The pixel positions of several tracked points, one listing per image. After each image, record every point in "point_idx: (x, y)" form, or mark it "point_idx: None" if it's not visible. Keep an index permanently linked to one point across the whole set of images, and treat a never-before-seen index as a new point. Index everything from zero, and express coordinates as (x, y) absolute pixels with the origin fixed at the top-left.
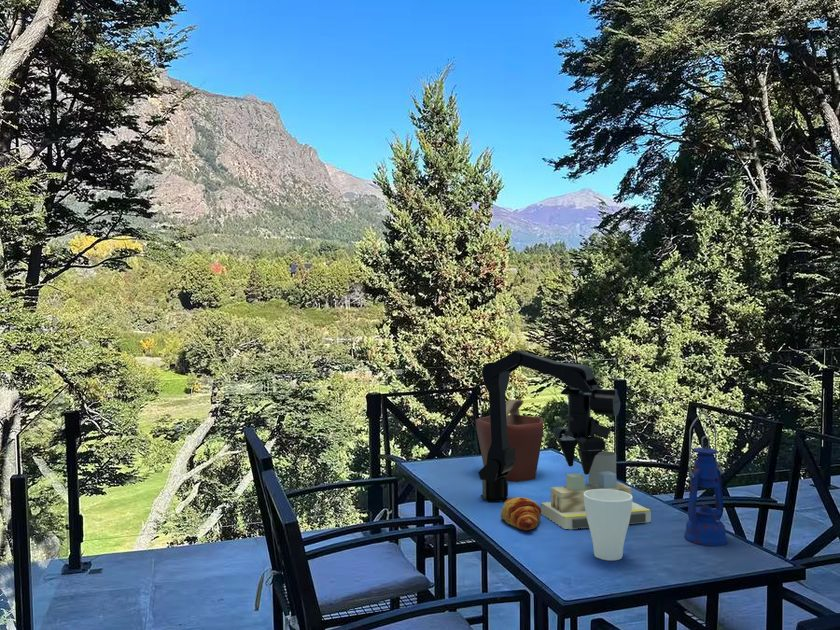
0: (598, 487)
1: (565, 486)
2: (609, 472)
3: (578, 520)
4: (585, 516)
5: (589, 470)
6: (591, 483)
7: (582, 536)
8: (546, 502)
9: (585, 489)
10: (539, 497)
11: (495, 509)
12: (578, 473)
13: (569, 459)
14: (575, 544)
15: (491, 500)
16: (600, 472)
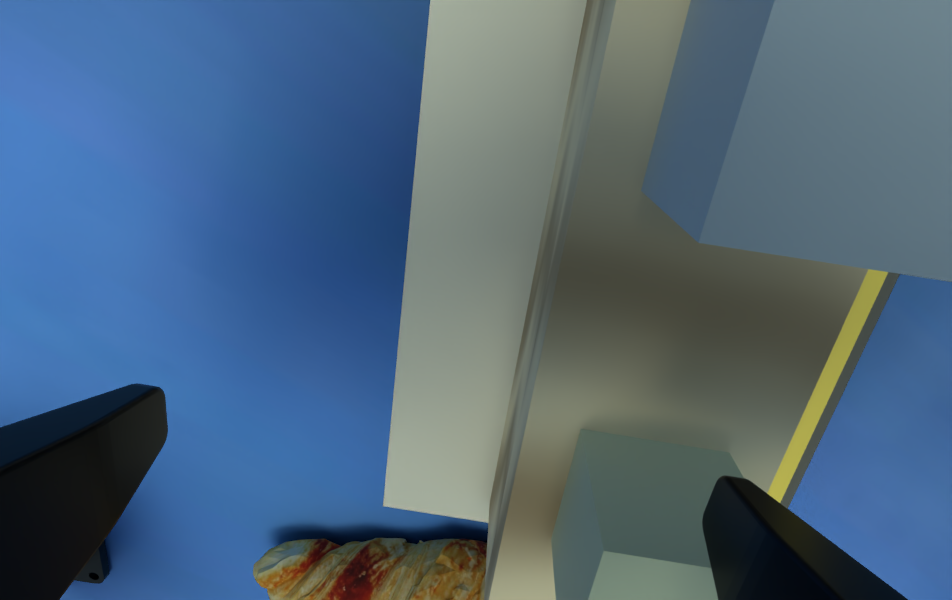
0: (736, 254)
1: (511, 523)
2: (882, 22)
3: (793, 486)
4: (804, 442)
5: (799, 529)
6: None
7: (866, 490)
8: (393, 478)
9: (717, 436)
10: (23, 262)
11: (242, 595)
12: (609, 553)
13: (77, 520)
14: (931, 581)
15: (103, 568)
16: (760, 214)
